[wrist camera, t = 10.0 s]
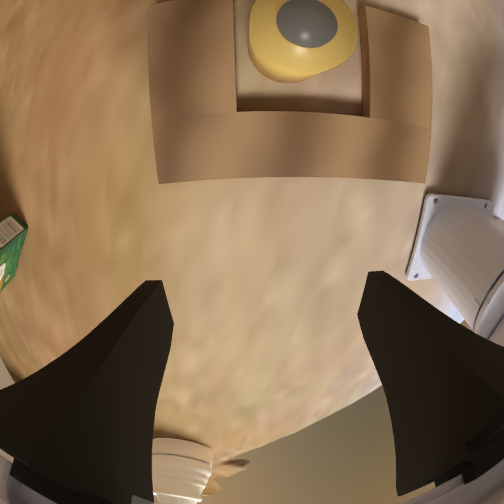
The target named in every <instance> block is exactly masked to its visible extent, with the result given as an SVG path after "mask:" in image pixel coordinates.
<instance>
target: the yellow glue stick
mask: <svg viewBox="0 0 504 504" xmlns="http://www.w3.org/2000/svg"><path fill="white" fill-rule="evenodd" d="M357 41H358V26H357V23H356V20H355V17H354V15H353V13H352V12H351V10H350V9H349V7H348V6H347V5H346V4H345V3H344V2H343V1H342V0H256V1H255V3H254V4H253V7H252V9H251V13H250V21H249V49H248V50H249V56H250V59H251V62H252V63H253V65H254V66H255V68H256V69H257V70H258V71H259V72H260V73H261V74H263V75H264V76H266V77H267V78H269V79H271V80H274V81H277V82H283V83H294V82H299V81H302V80H305V79H307V78H309V77H312V76H314V75H316V74H319V73H321V72H324V71H326V70H329V69H331V68H334V67H336V66H338V65H340V64H341V63H343V62H344V61H346V60H347V59H348V58H349V57H350V56H351V54H352V53H353V51H354V50H355V48H356V45H357Z"/></svg>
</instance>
